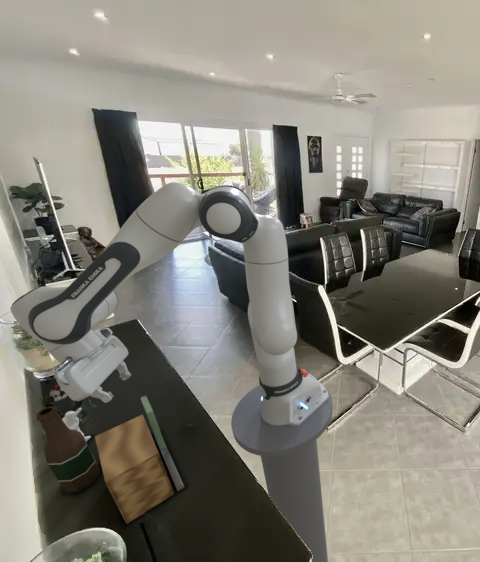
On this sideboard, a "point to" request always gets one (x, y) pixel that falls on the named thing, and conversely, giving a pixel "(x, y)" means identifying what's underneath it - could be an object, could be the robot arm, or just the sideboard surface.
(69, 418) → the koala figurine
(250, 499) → the sideboard surface
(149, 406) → the sliding door
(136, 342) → the sideboard surface
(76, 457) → the beer bottle
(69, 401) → the sundae
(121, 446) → the cupboard
